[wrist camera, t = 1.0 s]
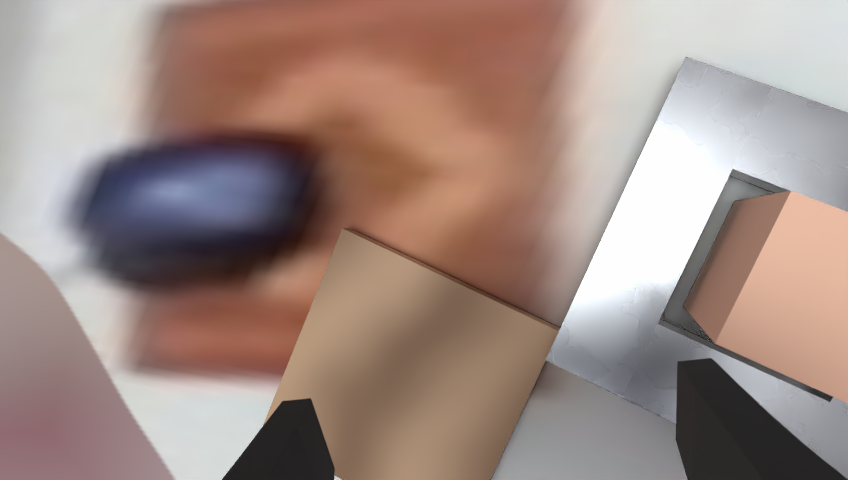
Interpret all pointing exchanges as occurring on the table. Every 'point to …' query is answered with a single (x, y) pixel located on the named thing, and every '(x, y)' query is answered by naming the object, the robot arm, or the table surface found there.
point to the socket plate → (678, 234)
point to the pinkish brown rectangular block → (780, 288)
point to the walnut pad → (412, 367)
